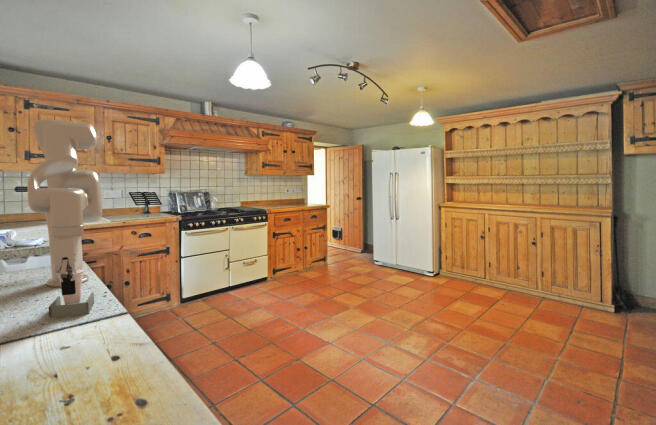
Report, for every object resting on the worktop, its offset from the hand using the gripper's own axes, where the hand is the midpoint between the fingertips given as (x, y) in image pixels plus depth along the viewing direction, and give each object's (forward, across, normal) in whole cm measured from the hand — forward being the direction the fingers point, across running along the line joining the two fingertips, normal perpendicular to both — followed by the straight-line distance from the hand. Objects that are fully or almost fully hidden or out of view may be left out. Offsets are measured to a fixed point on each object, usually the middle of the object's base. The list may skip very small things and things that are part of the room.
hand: (71, 290), depth 101 cm
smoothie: (+4, 0, 0) cm, 4 cm away
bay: (+6, 0, 0) cm, 6 cm away
